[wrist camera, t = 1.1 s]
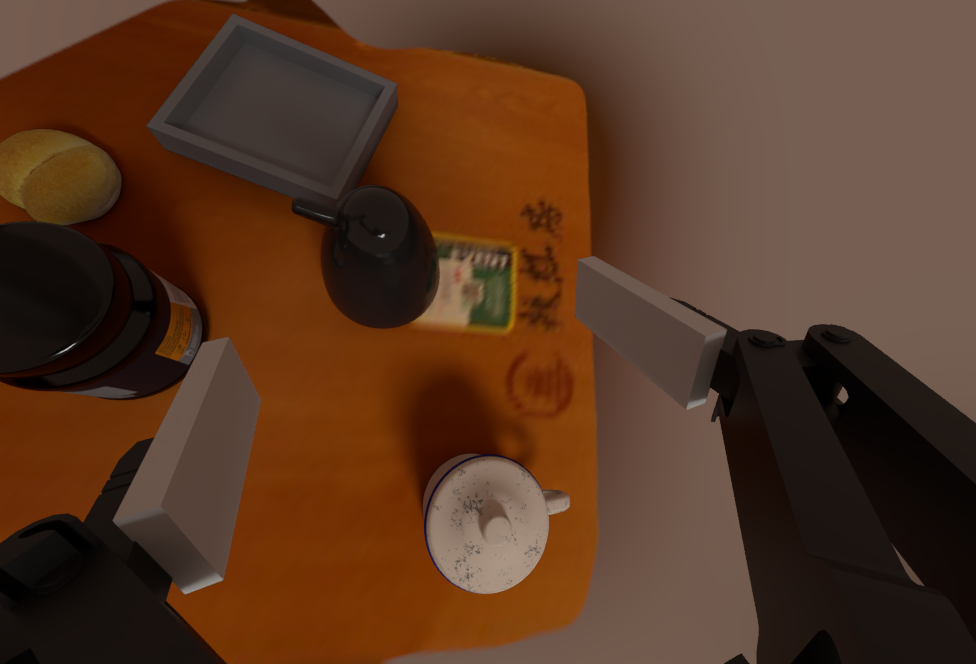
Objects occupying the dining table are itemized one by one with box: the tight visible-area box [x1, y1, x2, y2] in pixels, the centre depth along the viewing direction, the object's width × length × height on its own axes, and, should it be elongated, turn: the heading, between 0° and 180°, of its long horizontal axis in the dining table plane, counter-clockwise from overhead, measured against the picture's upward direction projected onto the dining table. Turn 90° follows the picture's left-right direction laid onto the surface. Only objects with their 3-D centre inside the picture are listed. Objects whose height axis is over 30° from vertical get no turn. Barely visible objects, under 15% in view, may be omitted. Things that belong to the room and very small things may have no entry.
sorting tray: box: [147, 14, 398, 207], centre depth 40 cm, size 18×16×3 cm
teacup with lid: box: [423, 454, 570, 594], centre depth 30 cm, size 12×9×12 cm
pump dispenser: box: [292, 185, 440, 329], centre depth 32 cm, size 10×10×15 cm
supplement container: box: [0, 221, 208, 400], centre depth 28 cm, size 10×10×12 cm
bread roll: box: [0, 129, 122, 225], centre depth 34 cm, size 8×9×4 cm
